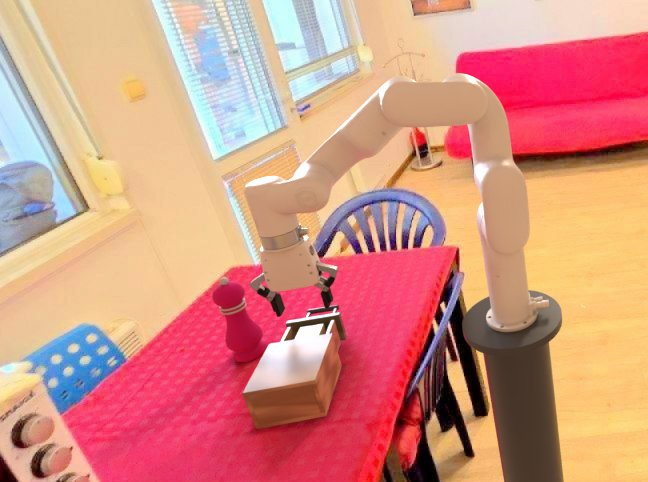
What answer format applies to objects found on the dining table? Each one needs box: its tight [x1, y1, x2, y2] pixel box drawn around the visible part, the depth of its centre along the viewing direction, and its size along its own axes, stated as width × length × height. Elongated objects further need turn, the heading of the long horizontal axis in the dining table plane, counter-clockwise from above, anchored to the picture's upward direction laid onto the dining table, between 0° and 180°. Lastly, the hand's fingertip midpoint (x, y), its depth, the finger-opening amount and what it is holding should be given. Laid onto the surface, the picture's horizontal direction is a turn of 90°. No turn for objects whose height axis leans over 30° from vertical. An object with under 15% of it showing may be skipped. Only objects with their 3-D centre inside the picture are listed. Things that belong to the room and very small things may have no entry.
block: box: [294, 323, 326, 340], centre depth 114 cm, size 5×5×5 cm
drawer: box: [279, 304, 348, 351], centre depth 116 cm, size 21×11×7 cm, turn 11°
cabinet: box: [242, 333, 343, 430], centre depth 103 cm, size 15×13×9 cm
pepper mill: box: [211, 276, 266, 363], centre depth 116 cm, size 7×7×20 cm
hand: (305, 308), depth 111 cm, fingers open, 9 cm apart
